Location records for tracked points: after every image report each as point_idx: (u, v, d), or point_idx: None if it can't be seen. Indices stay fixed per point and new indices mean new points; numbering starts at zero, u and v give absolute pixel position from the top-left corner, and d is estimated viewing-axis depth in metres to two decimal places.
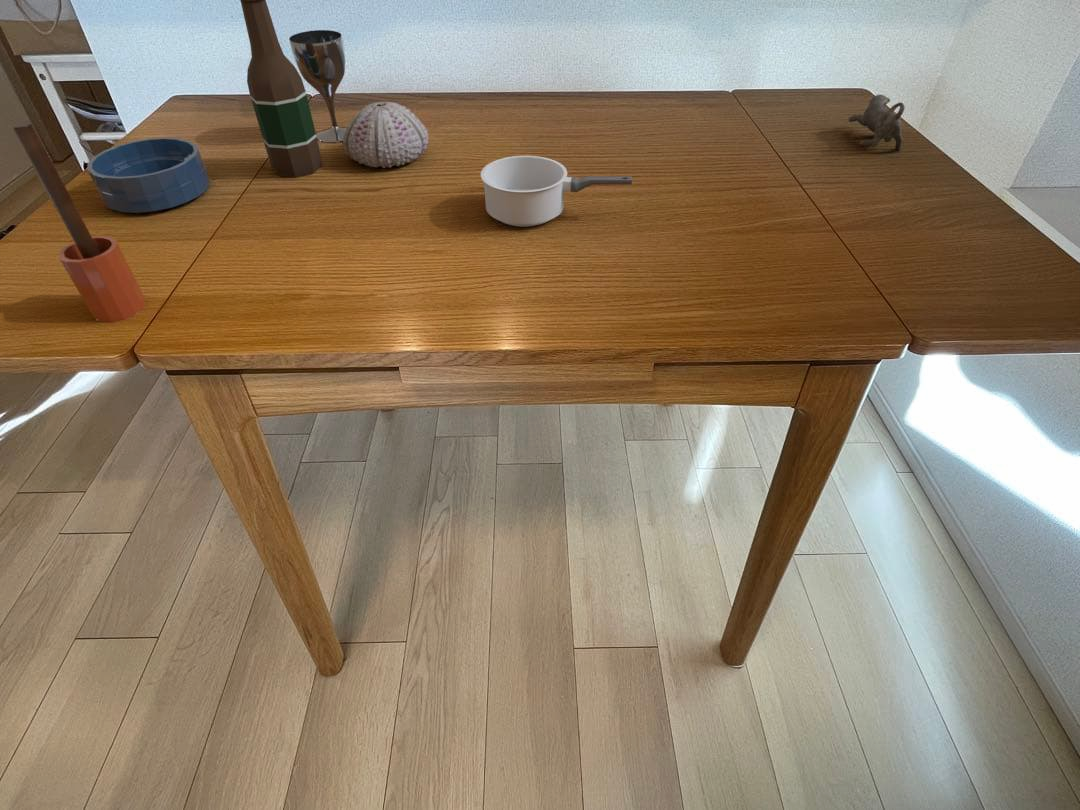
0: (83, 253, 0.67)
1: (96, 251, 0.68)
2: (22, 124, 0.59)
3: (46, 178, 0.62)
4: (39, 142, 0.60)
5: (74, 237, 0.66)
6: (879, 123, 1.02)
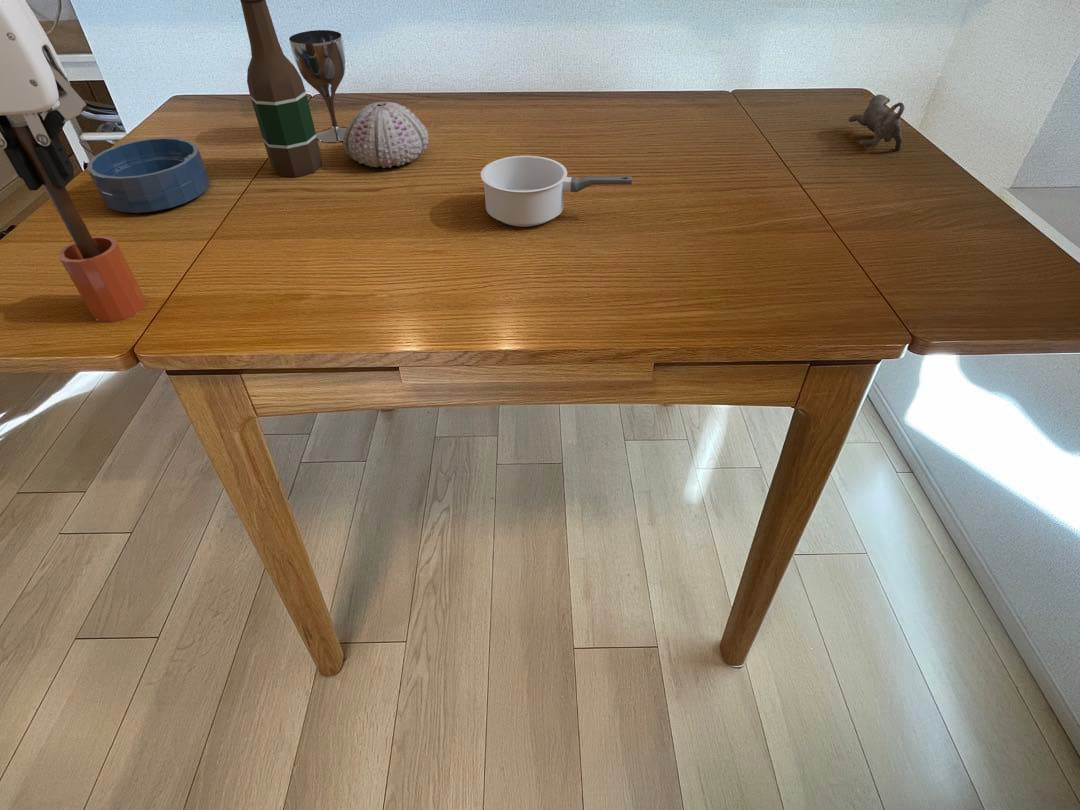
0: (83, 253, 0.67)
1: (96, 251, 0.68)
2: (22, 124, 0.59)
3: (46, 178, 0.62)
4: None
5: (74, 237, 0.66)
6: (879, 123, 1.02)
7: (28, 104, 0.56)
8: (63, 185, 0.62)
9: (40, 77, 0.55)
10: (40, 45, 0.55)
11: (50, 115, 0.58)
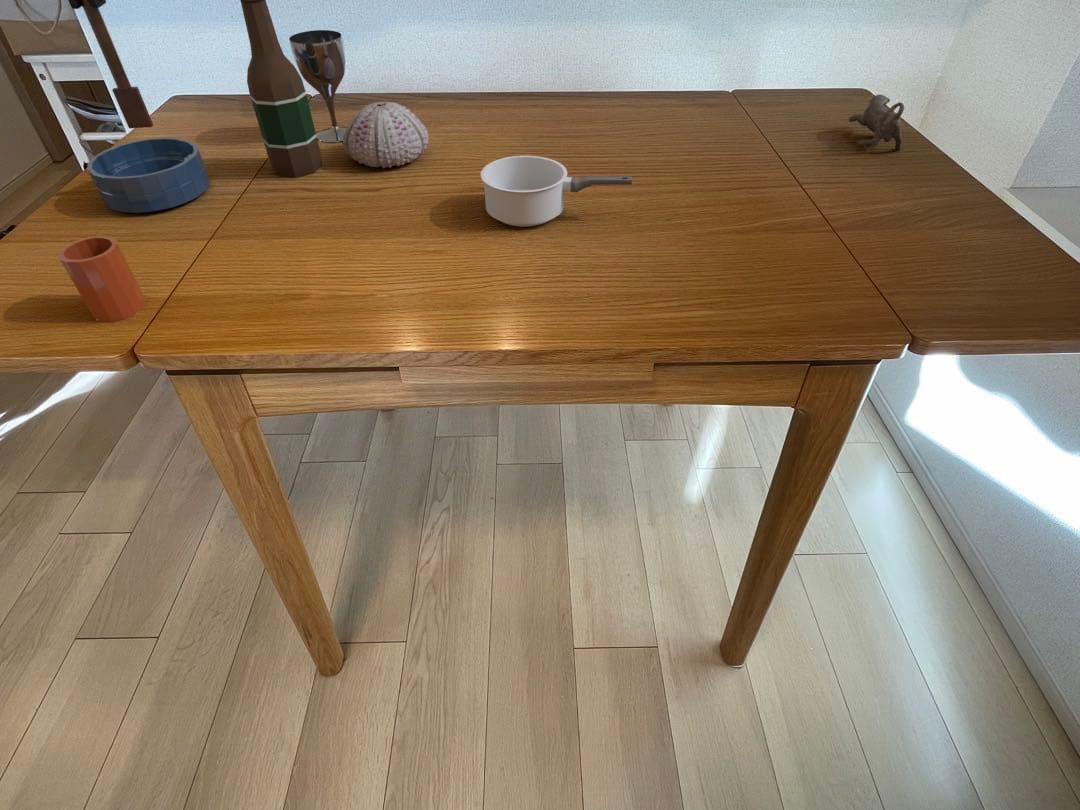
0: (112, 71, 0.84)
1: (123, 71, 0.84)
2: None
3: None
4: None
5: (106, 55, 0.82)
6: (879, 123, 1.02)
7: None
8: (98, 5, 0.78)
9: None
10: None
11: None
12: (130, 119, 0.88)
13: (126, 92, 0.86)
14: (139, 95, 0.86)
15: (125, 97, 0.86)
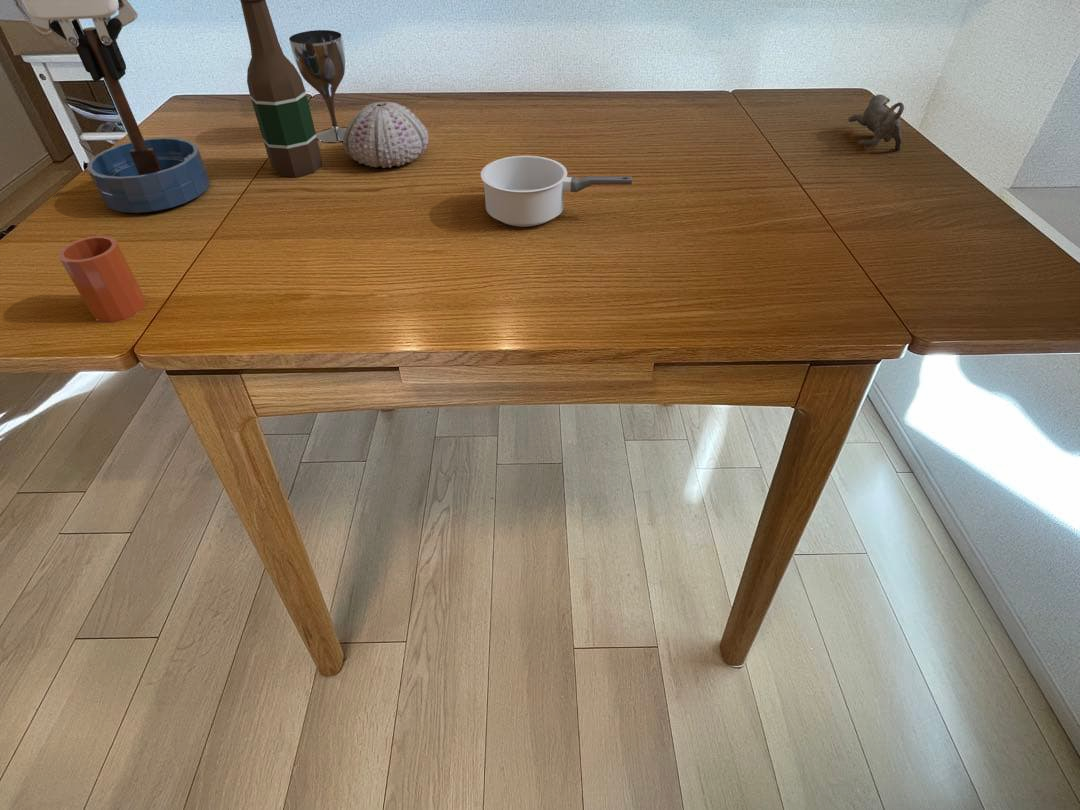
0: (130, 135, 0.89)
1: (140, 134, 0.89)
2: (90, 28, 0.81)
3: (106, 72, 0.83)
4: None
5: (124, 121, 0.88)
6: (879, 123, 1.02)
7: (97, 10, 0.77)
8: (118, 77, 0.84)
9: None
10: None
11: (112, 21, 0.80)
12: None
13: (142, 153, 0.91)
14: (154, 156, 0.92)
15: (141, 158, 0.91)
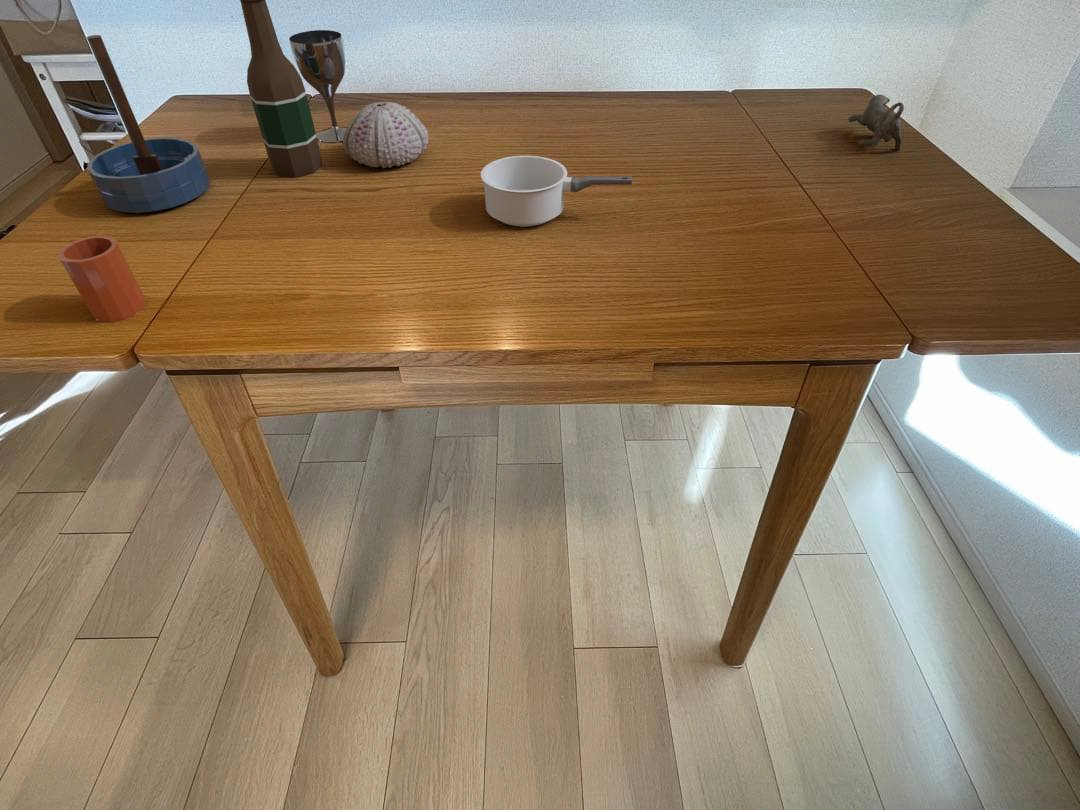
0: (133, 142, 0.89)
1: (143, 141, 0.90)
2: (94, 36, 0.81)
3: (110, 79, 0.84)
4: (106, 51, 0.82)
5: (128, 128, 0.88)
6: (878, 123, 1.02)
7: None
8: None
9: None
10: None
11: None
12: None
13: (146, 159, 0.92)
14: (157, 162, 0.92)
15: (145, 164, 0.92)
